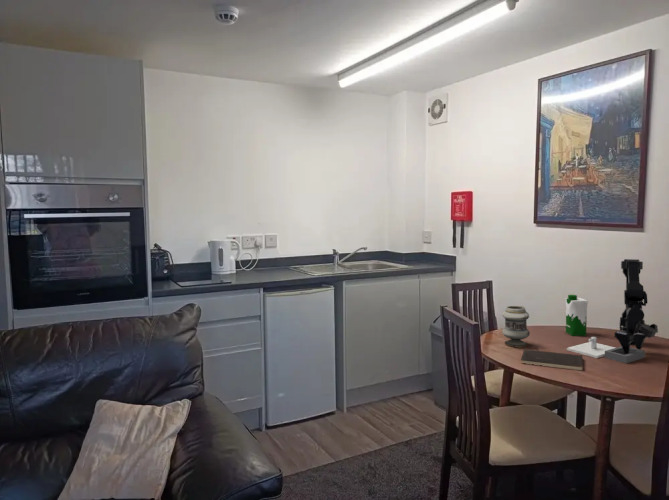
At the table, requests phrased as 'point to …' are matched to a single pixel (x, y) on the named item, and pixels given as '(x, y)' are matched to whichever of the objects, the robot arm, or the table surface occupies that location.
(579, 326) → the milk carton
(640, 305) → the robot arm
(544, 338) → the table surface
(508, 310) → the apothecary jar
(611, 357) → the grey rectangular frame
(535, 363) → the hardcover book
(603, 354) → the hook board
